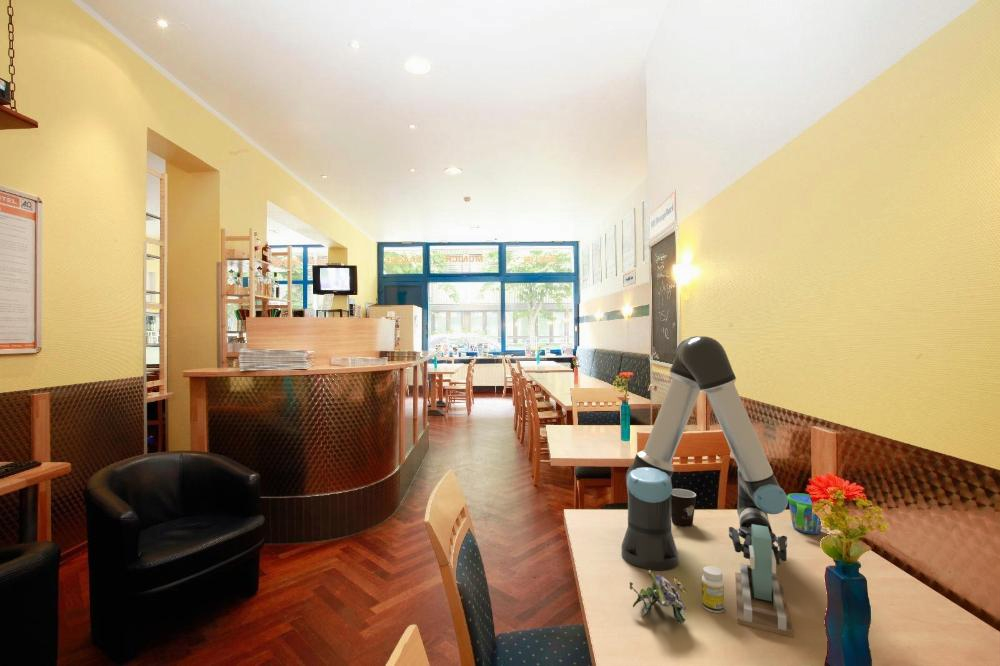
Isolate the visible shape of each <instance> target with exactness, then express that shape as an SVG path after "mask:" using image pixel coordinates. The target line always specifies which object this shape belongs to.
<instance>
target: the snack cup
mask: <svg viewBox="0 0 1000 666" xmlns="http://www.w3.org/2000/svg"><path fill="white" fill-rule="evenodd" d="M809 495H810V494H807V493H801V492H800V493H796V492H795V493H789V494H787V498H788V505H789V512H790V518H791V519H790V520H791V525H792V527H793V529H794V530H797V531H798V532H800V533H803V534H808V535H818V534H820V533H821V531H822V529H823V528H822V527H823V525H822V526H821V521H820V518H819V517H818V516H817V515H816V514H814V513H812V501H811V499H810V496H809Z"/></svg>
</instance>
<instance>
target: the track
mask: <svg viewBox="0 0 1000 666" xmlns="http://www.w3.org/2000/svg"><path fill="white" fill-rule="evenodd" d="M739 567H740V568H739V569H740V572H736V571H735V590H736V591H735V592H736V593H735V594H736V595H735V596H736V607H737V609H736V610H737V612H736V613H737V624H738V625H742V626H746V627H751V628H754V629H759V630H763V631H766V632H771V633H774V634H778V635H783V636H786V637H791V638H794V630H793V626H792V622H791V617H790V615H789V609H788V606H787V602H786V598H785V594H784V590H783V586H782V582H781V580H778V577H777V572H776V573H772V601H767V600H763V599H758V598H754V593H753V587H752V569H751V566H750V564H745V563H740V564H739Z"/></svg>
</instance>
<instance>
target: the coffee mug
mask: <svg viewBox="0 0 1000 666" xmlns="http://www.w3.org/2000/svg"><path fill="white" fill-rule="evenodd" d="M696 499H697V493H695V492H694V491H692V490H689V489H683V488H672V493H671V524H673V525H675V526H677V527H682V528H690V527H693V524H694V516H695V509H696V508H695V507H696V502H697V501H696Z"/></svg>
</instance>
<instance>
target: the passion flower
mask: <svg viewBox="0 0 1000 666" xmlns="http://www.w3.org/2000/svg"><path fill="white" fill-rule="evenodd" d="M648 576H649V577H650V579H651V580H652V584H651V587H650V586H648V585H647V587H646V589H644V588H641V589H640V592H638V591H637V590H636V589H635V588H634V587H633V585H634V583H633V582H632V581H630V582H629V590H630V591H631V590H633V592H635V593H636V594H637V599H636V600H635V601H634V602H633V604H632V608H635V607H636V605H637V604H638V603H639V602H642V601H643V612H642V614H641V616H640V617H641V618H642V619H643V617H644V616H645V615H646V614H647V613H649V612H650V611H651V610H652V607H653V606H654V605H655V604H656V603H658V605H659V606H664V607H669V606H671V607H672V611H673V612H672V613H673V616H674V618H675V621H676V622H677V623H679V624H680V625H682V624H683V623H684V622H686V618H685V617H684V615H683V614H684V613H685V612H686V609H687V608H686V606H685V604H683V603H682V602H683V601H682V597H681V595H680V594H679V592H677V590H679V591H680V592H682V593H683V594H687V590H686V588H685V587H684V585H683V584H682V583H681V581H680V580H679V579H678V578H677V577H676V576H675V575H674V576H673V581H674V585H675V586H673V584H671V582H670V581H669V580H668V579H667V578H665V577H664V576H663V575H662V574H661V573H660V575H659V574H655V575H654V573H652V572H651V569H648ZM645 599H647V600H648V603H647V601H646V600H645Z"/></svg>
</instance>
